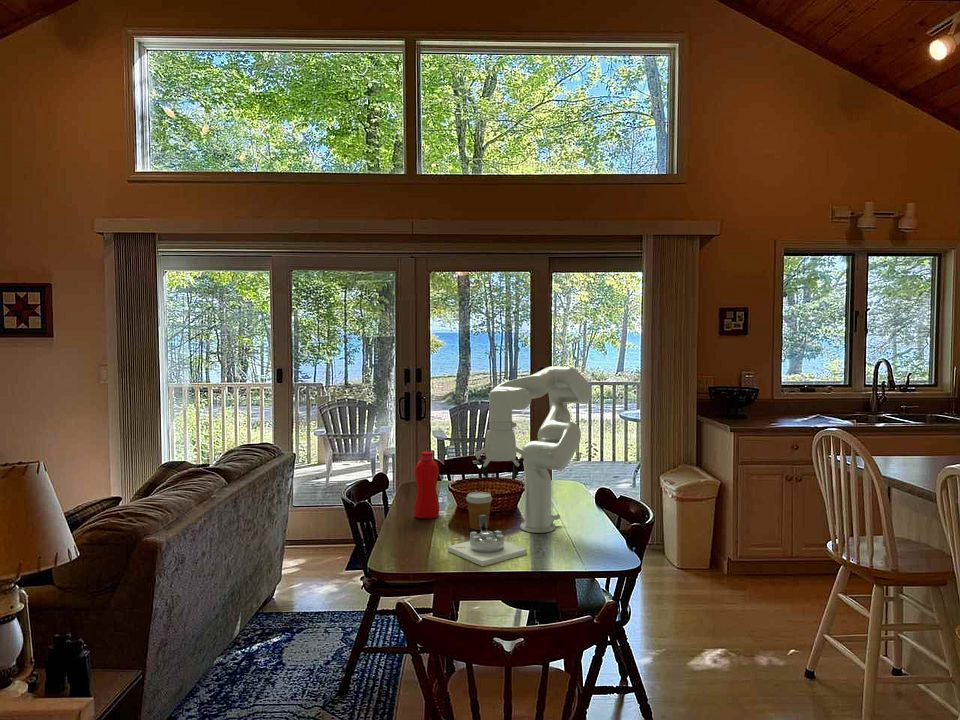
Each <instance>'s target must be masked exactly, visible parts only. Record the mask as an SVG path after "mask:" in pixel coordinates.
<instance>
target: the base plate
mask: <svg viewBox="0 0 960 720" xmlns="http://www.w3.org/2000/svg"><path fill="white" fill-rule="evenodd" d="M447 552H449V553H451V554H453V555H456V556H459V557H460V558H462V559H464V560H465V559H466V560H467V561H468V562H469V561H470V562H471V563H474V564H477V565H479V566H481V567H484V566H489V565H492V564H495V563H499V562H502V561H506V560H509V559H513V558H516V557H521V556H524V555H527V554H528V553H527V552H528V550H527V548H525V547H523V546H519V545H516V544H514V543H511V542H508V541H506V540H504V549H503V550H501V551H498V552H493V553H481V552H476V551H473V550H471V549H470V540H467V541H463V542H460V543H456V544H452V545H448V546H447Z"/></svg>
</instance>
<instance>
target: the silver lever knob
mask: <svg viewBox="0 0 960 720" xmlns="http://www.w3.org/2000/svg"><path fill="white" fill-rule="evenodd" d="M480 528H481V530H480V532H479V533H478V532H477V531H471V532H470V533H469V541H470V549H471V550H473V551H476V552H481V553H493V552H498V551H501V550H503V549H504V541H505V535H504V534H502V530H494V531H491V530H488V528H487V515H480ZM486 528H487V529H486Z"/></svg>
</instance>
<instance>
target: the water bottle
mask: <svg viewBox="0 0 960 720" xmlns="http://www.w3.org/2000/svg"><path fill="white" fill-rule="evenodd" d="M420 456H421V457H420V460H419V461H418V462H417V464H416V466H415V467H414V477H415V482H416V486H417V488H416V489H417V492H416V493H417V494H416V498H415V503H414V517H416V518H417V519H431V520H432V519H436V518H438V517H439V514H440V502H439V497H438V491H437V483H438V479H439V474H440V470H439V464H438V462H437V461H436V460H434V459H433V452H431V451H423V452H421V453H420Z"/></svg>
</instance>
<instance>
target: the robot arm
mask: <svg viewBox="0 0 960 720" xmlns="http://www.w3.org/2000/svg"><path fill="white" fill-rule="evenodd" d="M547 394H548V400H549V411H548V414H547V416H546V418H545V419H544V420H543V422H542V424H541V426H540V427H539V429H538V432H537V440H531V441H528V442H526V443H525V444H524V445H523V446H522V449H521V448H519V447H517V439H516V433H515V429H513V428H515V427H517V426H518V425H517V422H514V421H513V410H517V411H518V410H519V411H522V410H525V409H528V407H529V406H530V404H531V402H532V400H533V399H538V398H542V397H543V396H545V395H547ZM592 394H593V391H592V386H591V384H590V383H589V381H588V380H587V379H586V378H585V377H584V376H583V375H582V374H581V373H580V372H579V371H578V370H577V369H576V368H574V367H571V366H554V365H552V366H546V367H545V368H543V369H541V370H539V371H537V372H534V373H533V374H531V375H527V376H523V377H520V378H516V379H515V378H514V379H512V380H507V381H504V382H502V383H499V384H497V385H496V386H494V388H493V389H491V390H490V391H489V397H488V398H489V409H488V410H489V415H488V416H489V417H488V418H489V419H488V420H489V422H488V423H489V424H488V425H489V429H487V430H486V434H485V445H484V448H481V449H480V450H478V451H476V452H475V453H474V456H475V458H476V460H477V462H478V463H479V464H480V465H481V466H482V475H483V477H484V478H485V479H486V480H488V479H489V466H488V465H489V463H490V462H513V466H512V468H513V469H512V470H513V471H512V473H513V474H512V477H513V479H517V476H519V467H520V466H521V465H522V463H523V469H524V521H523V522H522V523H520V525H519V526H520V529H521V530H522V531H525V532H529V533H533V534H534V533H535V534H536V533H537V534H539V533H540V534H542V533H543V534H544V533H550V532H553V531H554V530H556V524H555V523H554V521H558V520H560V519H561V515H560V514H559V513H556V514H553V513H552V478H551V475H550V473H549V470H552V471H563V470H565V469H566V468H567V467H568V466H569V464H570V462H571V460H572V459H573V457H574V455H575V453H576V451H577V449H578V447H579V444H580V443H581V438H582V431H581V428H580V426H579V425H578V424H576V423H574V422H572V421H571V419H572V418H571V417H572V416H571V413H570V410H569V408H568V407H567V405H566V403H567V404H586V403H588V402H590V400H591V398H592V396H593V395H592ZM517 453H518V454H519V455H521V456H520V457H519V458H518V460H517V459H516V458H517ZM483 454H484V455H485V456H484V457H485V459H484V460H483V459H482V458H481V455H483Z"/></svg>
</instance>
